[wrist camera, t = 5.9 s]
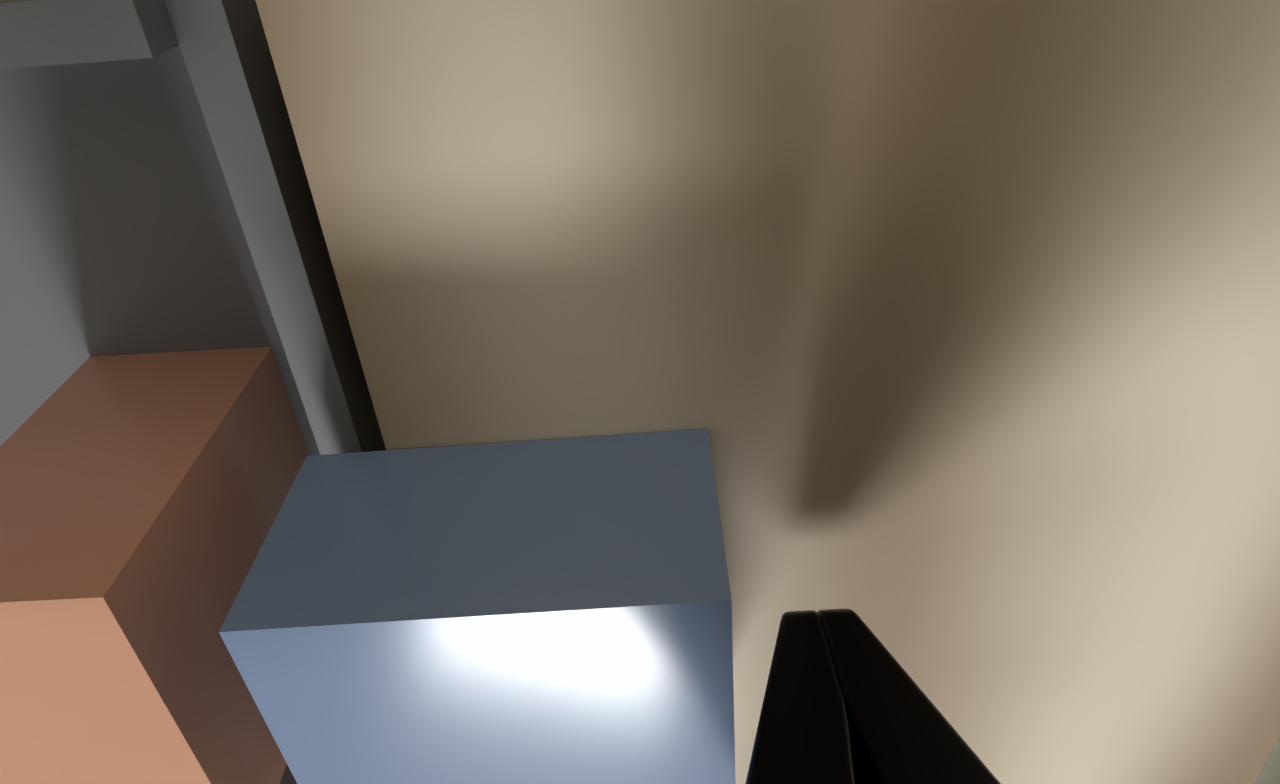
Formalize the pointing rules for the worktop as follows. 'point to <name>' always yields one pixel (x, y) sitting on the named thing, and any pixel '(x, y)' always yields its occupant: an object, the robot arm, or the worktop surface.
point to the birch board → (862, 319)
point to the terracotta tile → (139, 569)
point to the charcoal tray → (162, 208)
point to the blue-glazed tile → (496, 615)
